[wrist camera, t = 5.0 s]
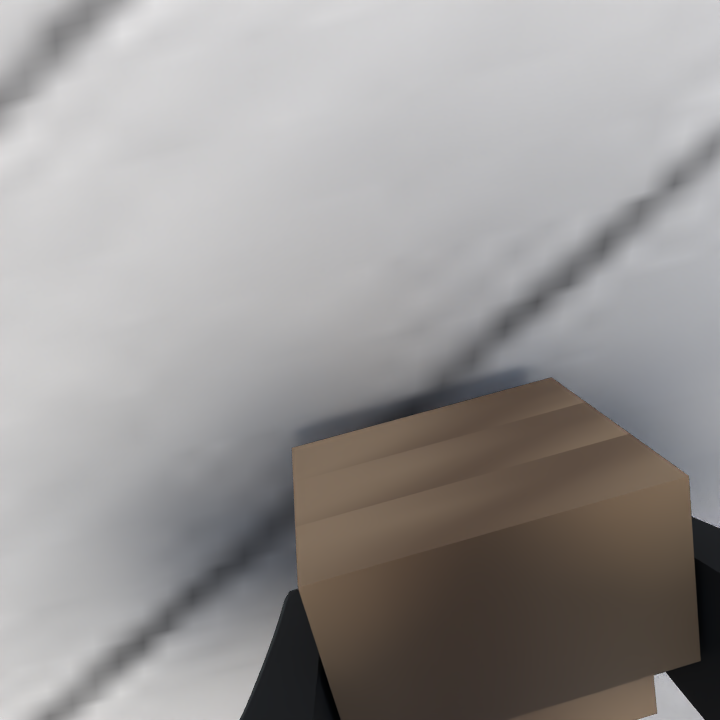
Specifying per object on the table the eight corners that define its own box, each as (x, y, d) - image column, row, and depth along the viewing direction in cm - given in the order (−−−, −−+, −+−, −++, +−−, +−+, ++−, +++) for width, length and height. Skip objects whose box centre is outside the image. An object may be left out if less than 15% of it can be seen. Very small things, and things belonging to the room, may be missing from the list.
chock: (551, 377, 11) (688, 475, 7) (595, 696, 13) (715, 891, 10) (292, 447, 11) (298, 587, 7) (385, 761, 13) (426, 985, 10)
